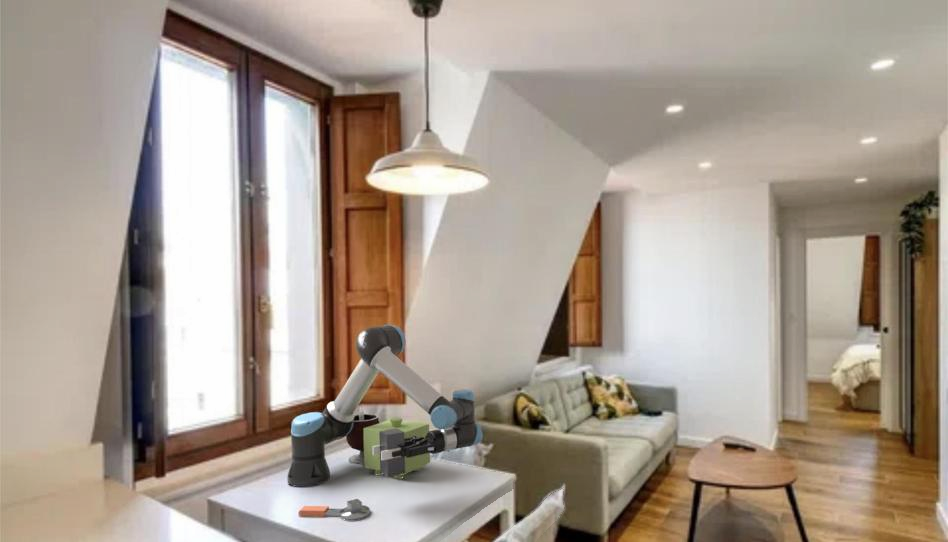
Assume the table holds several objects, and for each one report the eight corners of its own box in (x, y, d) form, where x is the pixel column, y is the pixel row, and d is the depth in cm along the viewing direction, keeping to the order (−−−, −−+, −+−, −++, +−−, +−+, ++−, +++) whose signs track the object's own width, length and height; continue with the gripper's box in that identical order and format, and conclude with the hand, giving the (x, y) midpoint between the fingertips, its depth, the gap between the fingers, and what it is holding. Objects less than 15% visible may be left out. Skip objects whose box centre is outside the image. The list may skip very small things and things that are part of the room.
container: (364, 473, 206) (362, 420, 207) (393, 461, 220) (391, 411, 221) (402, 482, 196) (401, 425, 197) (430, 468, 209) (429, 416, 210)
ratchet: (373, 509, 172) (373, 496, 172) (364, 521, 163) (364, 507, 163) (306, 508, 175) (306, 495, 175) (294, 520, 166) (293, 506, 166)
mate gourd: (382, 462, 220) (381, 412, 221) (347, 466, 216) (346, 415, 217) (378, 451, 235) (376, 404, 235) (345, 455, 231) (343, 407, 231)
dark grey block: (387, 476, 172) (387, 435, 172) (380, 471, 177) (379, 431, 177) (405, 472, 175) (404, 431, 175) (397, 468, 180) (396, 428, 180)
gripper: (455, 458, 178) (390, 473, 165) (427, 445, 194) (366, 458, 181) (454, 435, 178) (389, 448, 165) (427, 424, 194) (365, 435, 181)
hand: (377, 453), depth 173 cm, fingers closed on dark grey block, 6 cm apart
